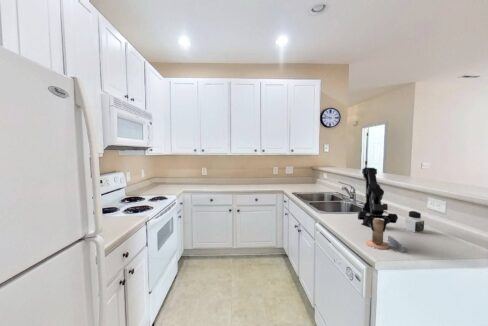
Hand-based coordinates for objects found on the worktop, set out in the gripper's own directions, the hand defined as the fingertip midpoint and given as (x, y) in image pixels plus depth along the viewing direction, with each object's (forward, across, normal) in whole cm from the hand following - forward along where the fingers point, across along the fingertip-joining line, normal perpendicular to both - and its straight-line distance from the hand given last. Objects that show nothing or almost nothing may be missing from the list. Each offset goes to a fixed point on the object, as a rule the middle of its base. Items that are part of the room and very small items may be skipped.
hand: (378, 231), depth 123 cm
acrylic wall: (+4, +9, +8) cm, 12 cm away
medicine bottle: (-18, +25, +30) cm, 44 cm away
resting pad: (+5, 0, +7) cm, 8 cm away
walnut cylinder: (+4, 0, +6) cm, 7 cm away
